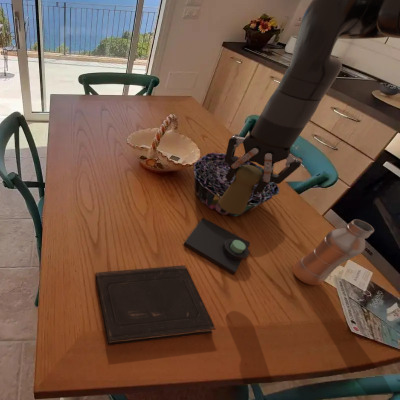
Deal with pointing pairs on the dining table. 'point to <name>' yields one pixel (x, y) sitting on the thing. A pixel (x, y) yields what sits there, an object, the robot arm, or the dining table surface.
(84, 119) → the dining table surface
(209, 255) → the dark grey button base
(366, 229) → the plastic bottle
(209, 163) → the decorative bowl
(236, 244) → the tare button
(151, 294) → the hardcover book
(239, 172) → the cork
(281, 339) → the dining table surface
